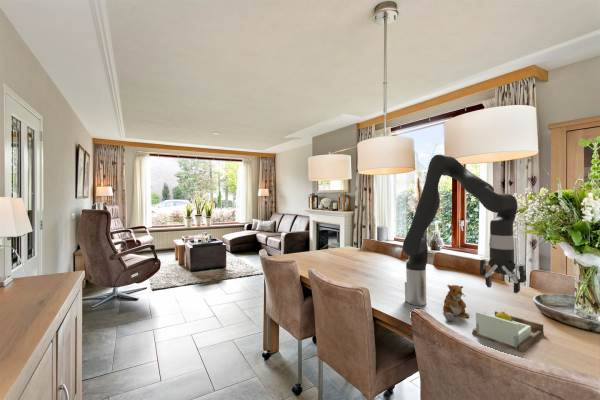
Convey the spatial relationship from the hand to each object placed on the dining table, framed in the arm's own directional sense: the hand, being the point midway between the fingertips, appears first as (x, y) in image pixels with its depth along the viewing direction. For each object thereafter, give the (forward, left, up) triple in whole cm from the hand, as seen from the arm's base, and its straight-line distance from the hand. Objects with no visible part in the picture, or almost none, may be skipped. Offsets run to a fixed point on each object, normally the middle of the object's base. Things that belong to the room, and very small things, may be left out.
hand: (502, 289), depth 105 cm
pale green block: (0, 0, -17) cm, 17 cm away
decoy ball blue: (-11, +10, -18) cm, 23 cm away
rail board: (0, +4, -18) cm, 18 cm away
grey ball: (-19, -2, -18) cm, 26 cm away
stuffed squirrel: (-23, +9, -18) cm, 30 cm away
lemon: (0, 0, -16) cm, 16 cm away
